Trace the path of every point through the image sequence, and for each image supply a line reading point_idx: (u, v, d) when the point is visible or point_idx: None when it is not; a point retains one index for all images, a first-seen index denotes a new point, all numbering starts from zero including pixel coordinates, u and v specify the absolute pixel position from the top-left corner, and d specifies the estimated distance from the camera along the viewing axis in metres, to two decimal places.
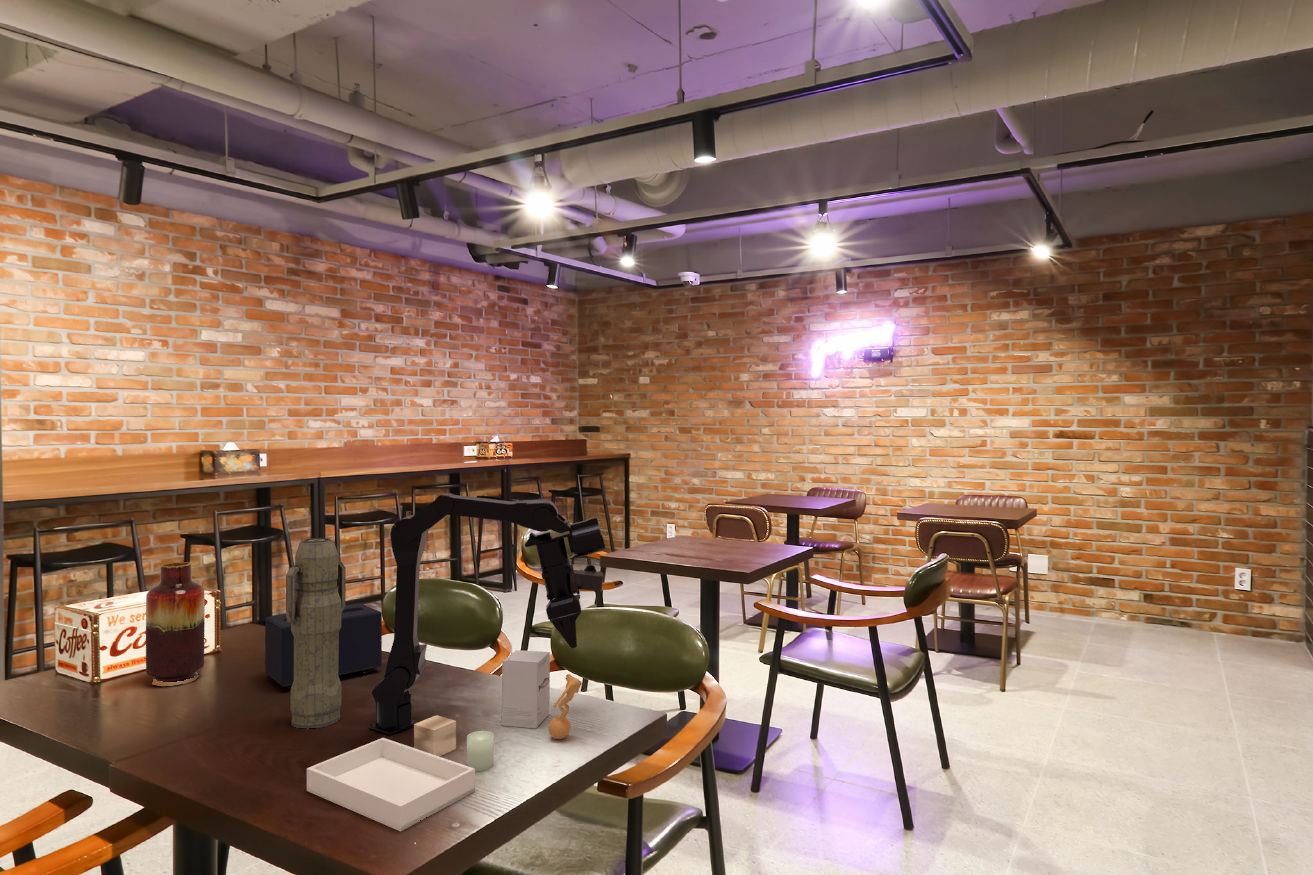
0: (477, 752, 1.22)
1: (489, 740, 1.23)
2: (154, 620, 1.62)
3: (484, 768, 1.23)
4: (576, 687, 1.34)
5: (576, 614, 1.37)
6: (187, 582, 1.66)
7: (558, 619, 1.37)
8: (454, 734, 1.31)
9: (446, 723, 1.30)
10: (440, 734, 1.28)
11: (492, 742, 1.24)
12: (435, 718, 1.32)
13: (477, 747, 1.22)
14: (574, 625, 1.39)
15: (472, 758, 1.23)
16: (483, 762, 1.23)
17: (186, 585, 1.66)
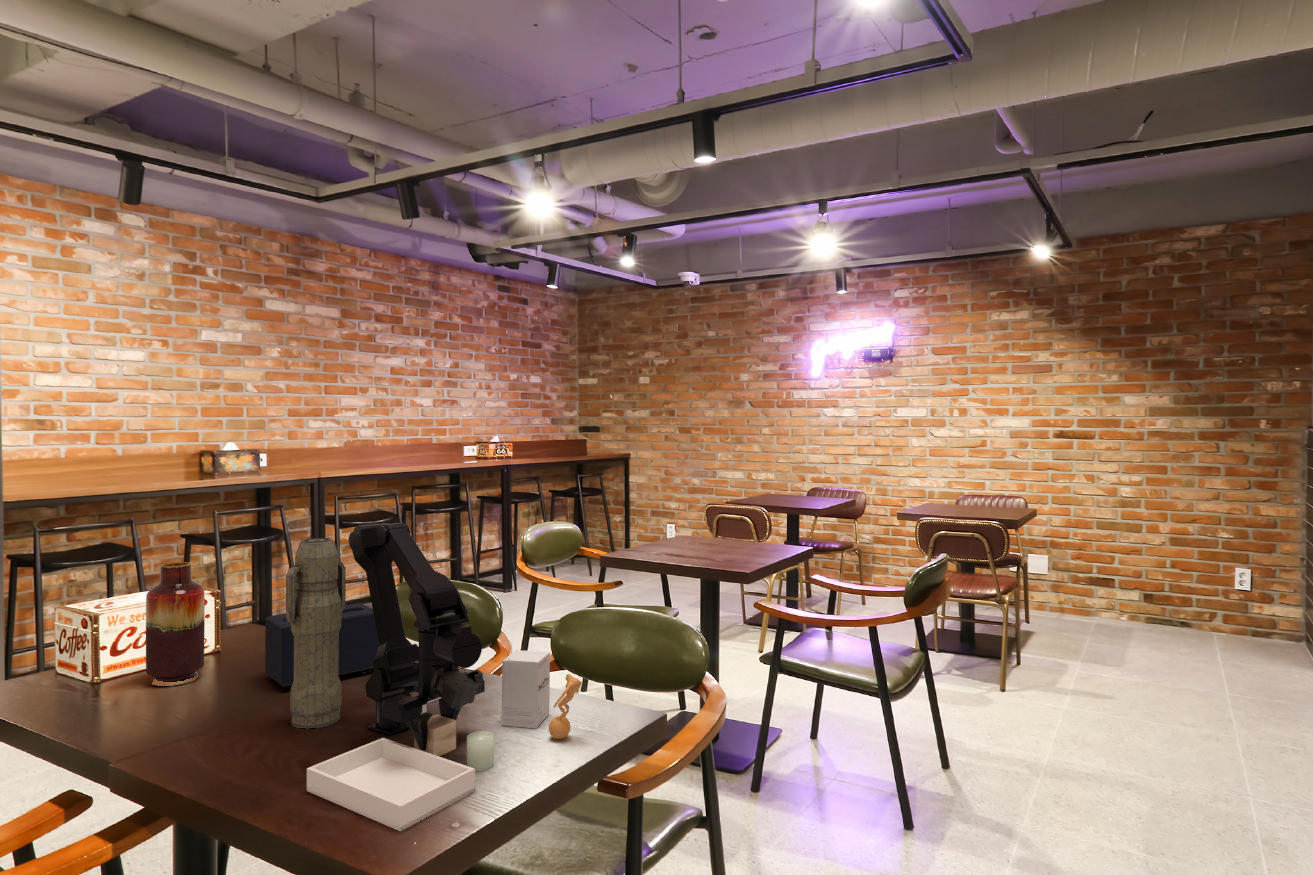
0: (477, 752, 1.22)
1: (489, 740, 1.23)
2: (154, 620, 1.62)
3: (484, 768, 1.23)
4: (576, 687, 1.34)
5: (415, 719, 1.24)
6: (187, 582, 1.66)
7: None
8: (454, 733, 1.31)
9: (446, 722, 1.30)
10: (440, 734, 1.28)
11: (492, 742, 1.24)
12: (435, 718, 1.32)
13: (477, 747, 1.22)
14: (420, 728, 1.26)
15: (472, 758, 1.23)
16: (483, 762, 1.23)
17: (186, 585, 1.66)
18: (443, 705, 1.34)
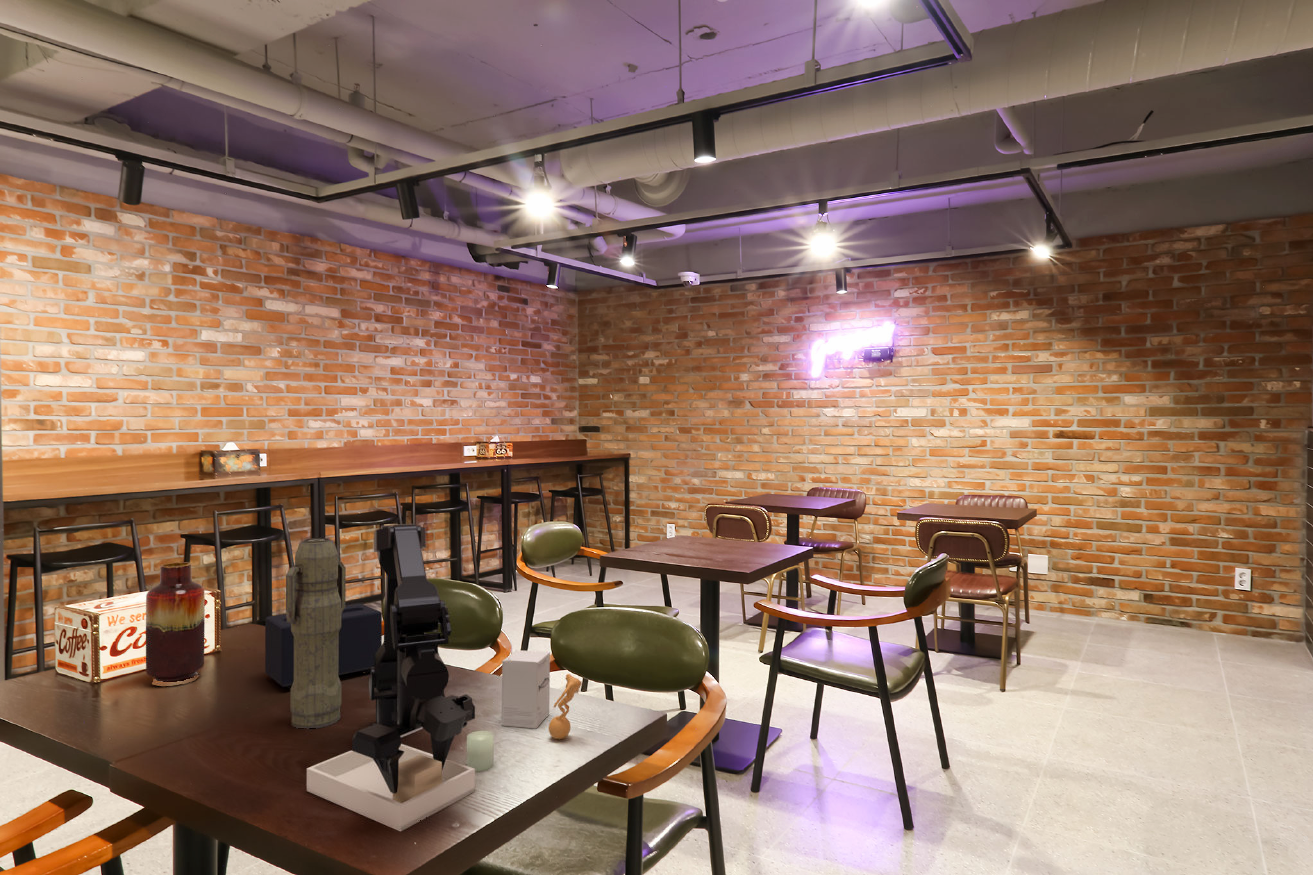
0: (477, 752, 1.22)
1: (489, 740, 1.23)
2: (154, 620, 1.62)
3: (484, 768, 1.23)
4: (576, 687, 1.34)
5: (383, 758, 1.05)
6: (187, 582, 1.66)
7: None
8: (439, 777, 1.13)
9: (430, 765, 1.12)
10: (423, 779, 1.10)
11: (492, 742, 1.24)
12: (418, 759, 1.14)
13: (477, 747, 1.22)
14: (389, 768, 1.07)
15: (472, 758, 1.23)
16: (483, 762, 1.23)
17: (186, 585, 1.66)
18: None
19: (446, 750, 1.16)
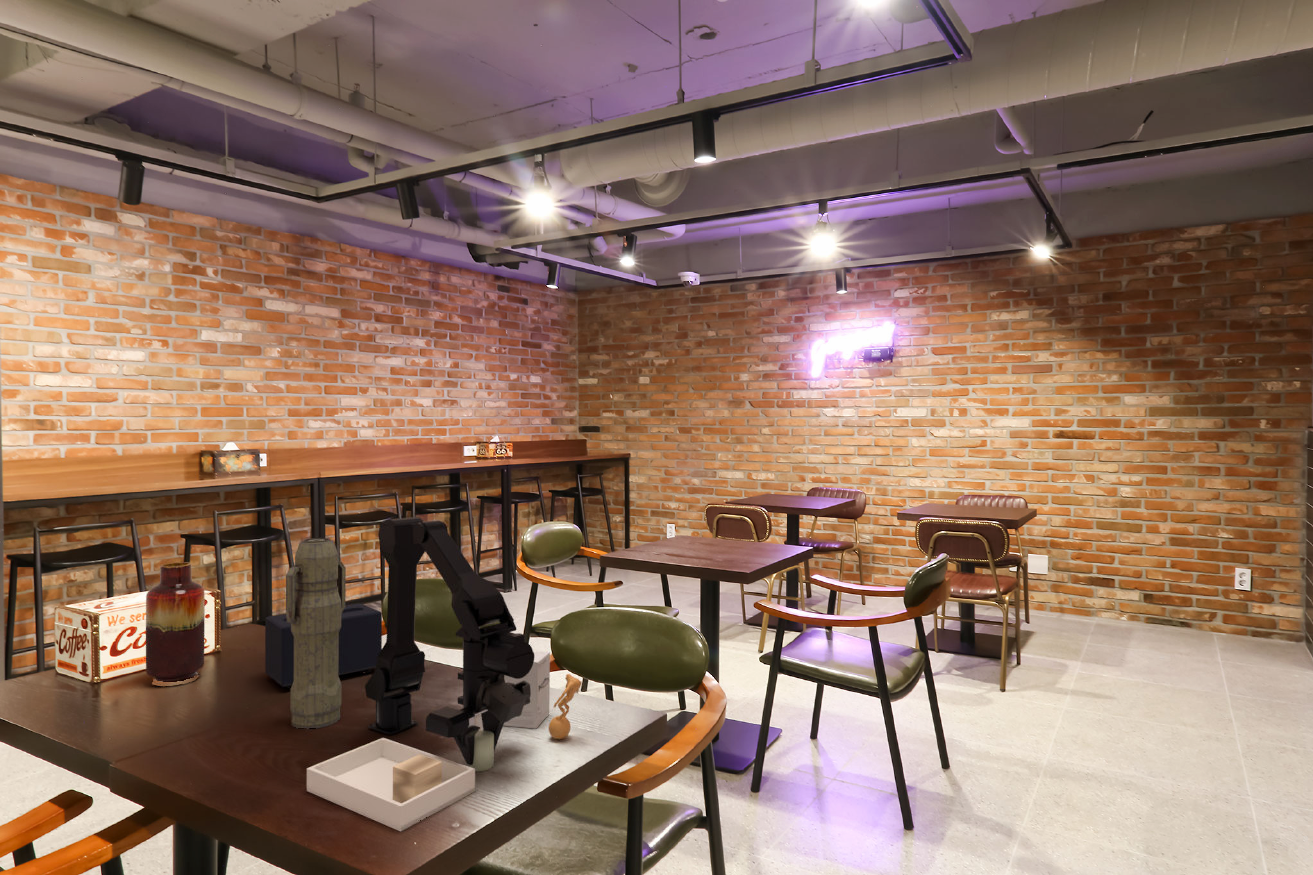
0: (477, 752, 1.22)
1: (489, 740, 1.23)
2: (154, 620, 1.62)
3: (484, 768, 1.23)
4: (576, 687, 1.34)
5: (463, 733, 1.19)
6: (187, 582, 1.66)
7: None
8: (439, 777, 1.13)
9: (430, 765, 1.12)
10: (423, 779, 1.10)
11: (492, 742, 1.24)
12: (418, 759, 1.14)
13: (478, 747, 1.22)
14: (467, 742, 1.21)
15: None
16: (483, 762, 1.23)
17: (186, 585, 1.66)
18: (486, 718, 1.28)
19: (497, 735, 1.26)
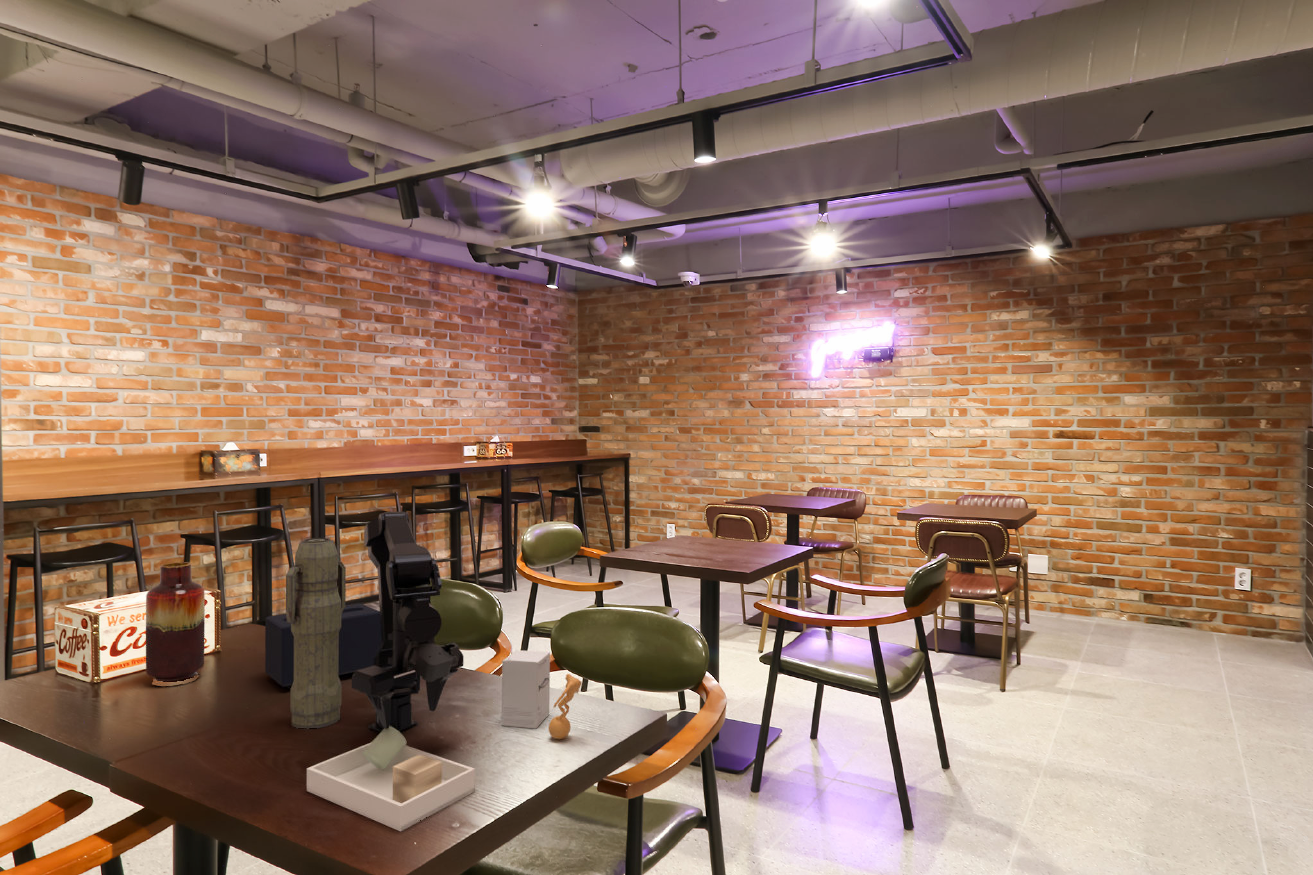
0: (387, 738, 1.20)
1: (403, 739, 1.22)
2: (154, 620, 1.62)
3: (380, 758, 1.18)
4: (576, 687, 1.34)
5: (375, 695, 1.18)
6: (187, 582, 1.66)
7: None
8: (439, 777, 1.13)
9: (430, 765, 1.12)
10: (423, 779, 1.10)
11: (402, 745, 1.22)
12: (418, 759, 1.14)
13: (391, 734, 1.21)
14: (382, 705, 1.20)
15: (379, 741, 1.20)
16: (384, 751, 1.19)
17: (186, 585, 1.66)
18: None
19: (439, 692, 1.30)
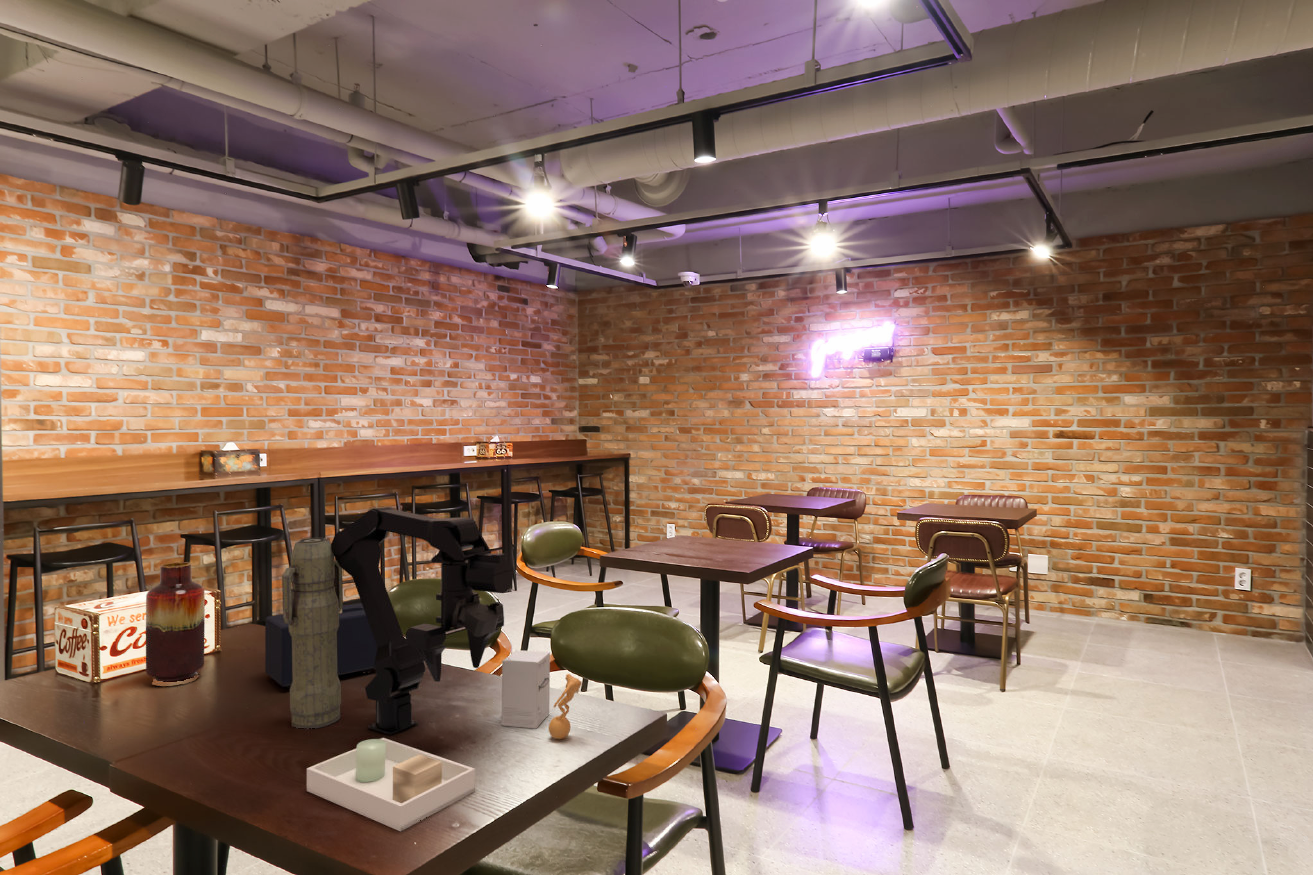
0: (367, 762, 1.17)
1: (381, 749, 1.18)
2: (154, 620, 1.62)
3: (374, 779, 1.17)
4: (576, 687, 1.34)
5: (429, 649, 1.27)
6: (187, 582, 1.66)
7: (416, 646, 1.29)
8: (439, 777, 1.13)
9: (430, 765, 1.12)
10: (423, 779, 1.10)
11: (384, 751, 1.19)
12: (418, 759, 1.14)
13: (368, 756, 1.17)
14: (434, 659, 1.29)
15: (361, 768, 1.17)
16: (373, 772, 1.17)
17: (186, 585, 1.66)
18: (472, 635, 1.40)
19: (482, 650, 1.38)
